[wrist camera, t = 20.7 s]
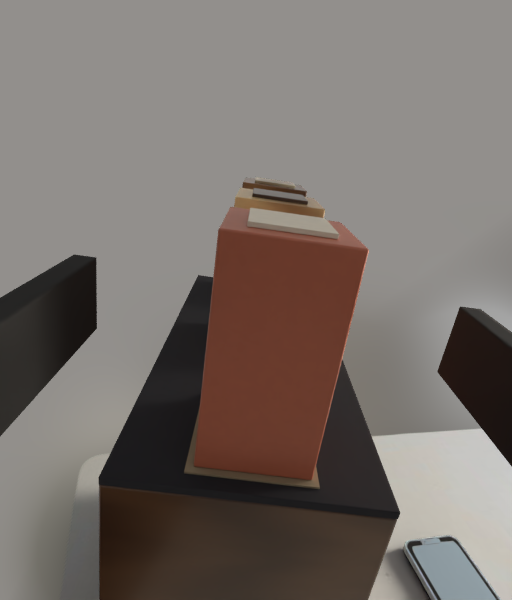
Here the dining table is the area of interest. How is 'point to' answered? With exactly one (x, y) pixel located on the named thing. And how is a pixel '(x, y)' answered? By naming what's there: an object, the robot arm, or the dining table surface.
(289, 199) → the wooden pillar block
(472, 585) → the smartphone
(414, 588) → the dining table surface
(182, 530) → the stand
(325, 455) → the black mat
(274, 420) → the orange block
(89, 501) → the dining table surface
